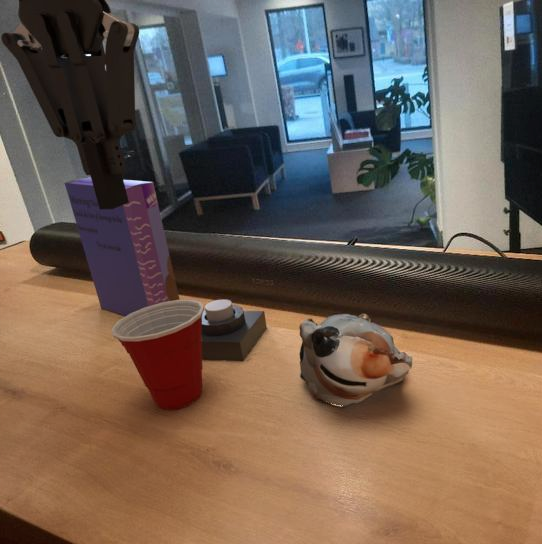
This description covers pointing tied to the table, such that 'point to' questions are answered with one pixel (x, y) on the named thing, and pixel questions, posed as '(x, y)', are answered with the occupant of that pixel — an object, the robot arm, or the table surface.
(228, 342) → the push button base
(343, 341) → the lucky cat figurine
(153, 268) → the cereal box
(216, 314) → the white push button
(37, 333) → the table surface
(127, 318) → the plastic cup
